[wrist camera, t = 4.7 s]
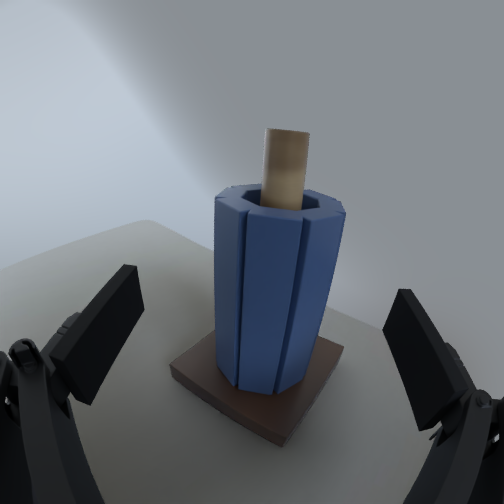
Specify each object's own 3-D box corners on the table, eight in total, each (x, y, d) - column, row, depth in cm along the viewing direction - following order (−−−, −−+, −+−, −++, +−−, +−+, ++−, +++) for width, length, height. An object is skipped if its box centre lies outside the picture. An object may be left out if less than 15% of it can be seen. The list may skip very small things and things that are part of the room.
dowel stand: (339, 359, 20) (395, 148, 13) (282, 447, 13) (366, 142, 6) (246, 317, 24) (259, 127, 17) (172, 376, 17) (144, 127, 10)
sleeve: (323, 366, 17) (367, 210, 12) (251, 408, 14) (271, 228, 9) (270, 320, 21) (287, 181, 17) (203, 347, 18) (197, 189, 13)
